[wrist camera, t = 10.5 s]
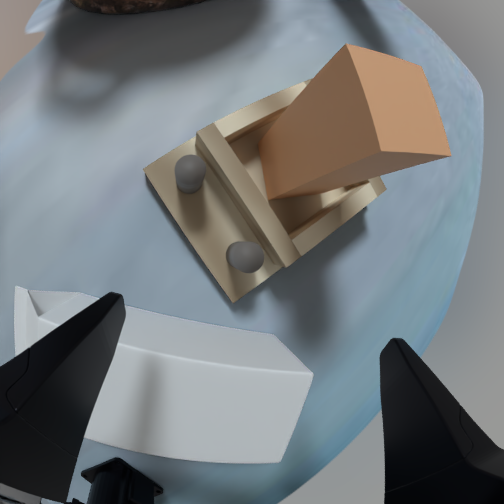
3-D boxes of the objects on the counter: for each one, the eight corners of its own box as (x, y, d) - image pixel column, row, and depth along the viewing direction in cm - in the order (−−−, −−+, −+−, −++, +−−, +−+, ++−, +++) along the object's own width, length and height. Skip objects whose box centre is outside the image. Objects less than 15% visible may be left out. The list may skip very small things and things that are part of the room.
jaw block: (267, 200, 19) (381, 151, 7) (257, 143, 19) (345, 43, 7) (320, 193, 20) (451, 155, 8) (309, 140, 20) (421, 66, 8)
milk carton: (317, 373, 14) (-14, 295, 9) (282, 463, 14) (-4, 399, 9) (276, 334, 21) (39, 278, 16) (255, 409, 21) (37, 360, 16)
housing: (230, 300, 20) (242, 314, 16) (144, 172, 18) (135, 156, 14) (365, 199, 22) (395, 193, 18) (296, 91, 20) (316, 68, 16)
